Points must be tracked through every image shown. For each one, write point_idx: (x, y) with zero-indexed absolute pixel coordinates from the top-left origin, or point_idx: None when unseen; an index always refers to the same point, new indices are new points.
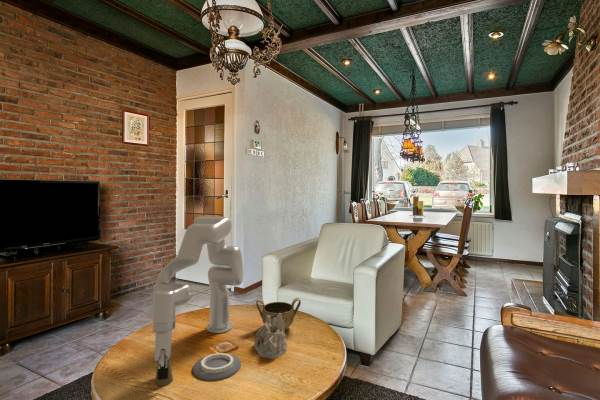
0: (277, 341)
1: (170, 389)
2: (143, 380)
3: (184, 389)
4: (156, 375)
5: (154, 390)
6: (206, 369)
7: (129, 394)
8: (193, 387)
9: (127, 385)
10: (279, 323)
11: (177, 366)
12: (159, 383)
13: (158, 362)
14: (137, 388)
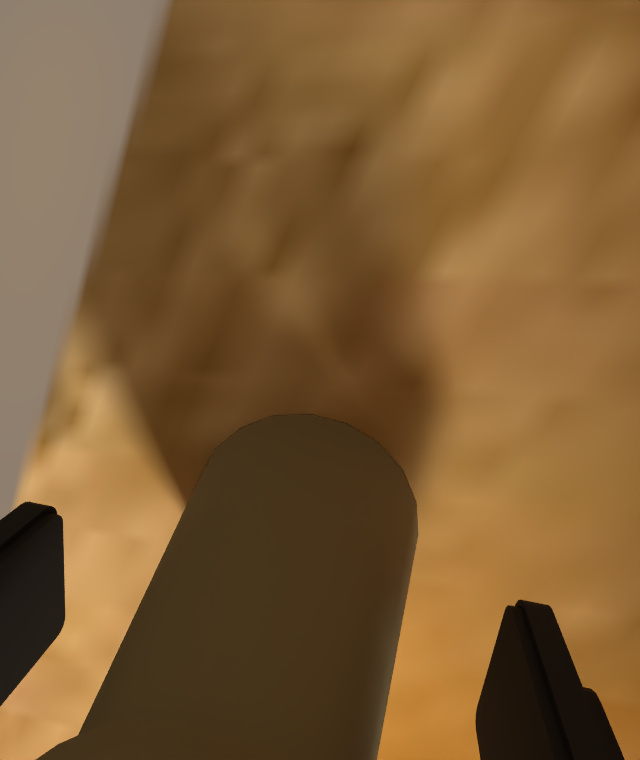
0: None
1: (98, 553)
2: (464, 268)
3: (56, 664)
4: (244, 487)
5: (136, 393)
6: None
7: (149, 62)
8: (66, 734)
9: (432, 5)
10: None
11: (613, 716)
12: (203, 473)
13: (138, 709)
14: (268, 178)
